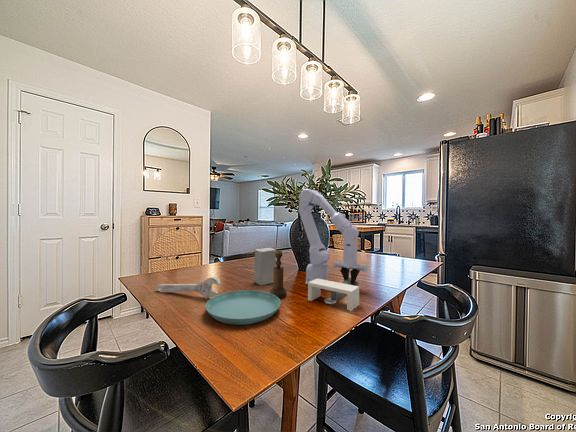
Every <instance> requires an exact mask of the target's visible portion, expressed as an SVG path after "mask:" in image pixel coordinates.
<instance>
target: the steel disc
mask: <svg viewBox="0 0 576 432" xmlns="http://www.w3.org/2000/svg"><path fill="white" fill-rule="evenodd" d="M323 302H324V303H325V304H326V305H336V304H337V300H335V299H332V298H331V297H328V298H324V300H323ZM335 303H336V304H335Z"/></svg>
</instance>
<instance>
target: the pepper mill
mask: <svg viewBox="0 0 576 432" xmlns="http://www.w3.org/2000/svg"><path fill="white" fill-rule="evenodd" d="M275 256H276V267H274V268H273V283H272V287H271V289H269V293H270V294H273V295H275V296H276V297H278V298H279V300H281V299H285V298H286V297H287V294H288V292H287V289H286V288H285V287H284V267H283V266H282V261H281V259H282V257H283V251H282V250H281V249H278V250H276V252H275Z"/></svg>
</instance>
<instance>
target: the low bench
mask: <svg viewBox="0 0 576 432" xmlns="http://www.w3.org/2000/svg"><path fill="white" fill-rule="evenodd" d="M321 289H323V290H327V291H335V292H340V293H344V294H345V295H346V296H347V297H346V298H347V299H346V301H347V303H346V305H347V306H346V307H347V308H346V310H350V311H349V312H351V311H352V310H353V309H354V308H355V309H357V308H358V307H359V306H360V285H359V286H354V285H349V284H344V283H341V282H337V281H332V280H328V279H327V280H323V279H318V278H317V279H315V280H312V281H310V282H308V284H307V301H309V302H312V301H314V300H316V299H317V298H319V297H321V294H322V293H321V292H322V290H321ZM358 305H359V306H358ZM357 306H358V307H357ZM355 309H354V310H355ZM354 310H353V311H354ZM353 311H352V312H353Z"/></svg>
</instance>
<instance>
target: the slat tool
mask: <svg viewBox="0 0 576 432" xmlns="http://www.w3.org/2000/svg"><path fill="white" fill-rule="evenodd" d="M340 283H344V284H349V285H351V276H349V278H348V279H346V280H344V279H343V281H341V282H340ZM354 286H359V287H360V281H357V280H356V281H355V285H354ZM330 291H331V290H330ZM344 296H346V294H344V293H340V292H335V291H331V292H330V298H332V299H335V300H336V301H338V300H340V299H341V298H342V297H344Z"/></svg>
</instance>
